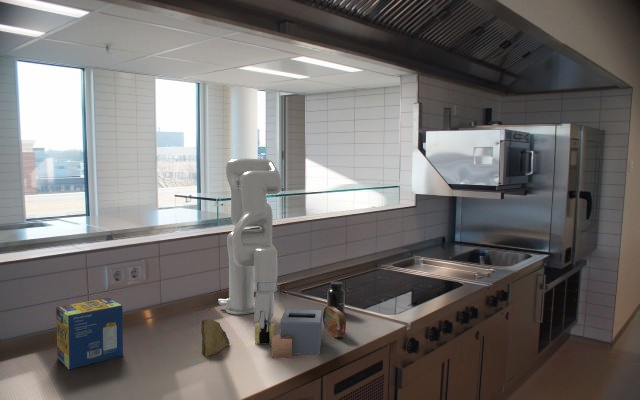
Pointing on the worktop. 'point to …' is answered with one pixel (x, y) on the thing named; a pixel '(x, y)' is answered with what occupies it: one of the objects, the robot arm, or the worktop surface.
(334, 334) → the tin
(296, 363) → the worktop surface
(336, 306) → the supplement bottle
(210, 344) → the rock
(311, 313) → the blue-grey block with hole
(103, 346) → the protein box
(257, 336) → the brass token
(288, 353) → the brown wooden square slab
